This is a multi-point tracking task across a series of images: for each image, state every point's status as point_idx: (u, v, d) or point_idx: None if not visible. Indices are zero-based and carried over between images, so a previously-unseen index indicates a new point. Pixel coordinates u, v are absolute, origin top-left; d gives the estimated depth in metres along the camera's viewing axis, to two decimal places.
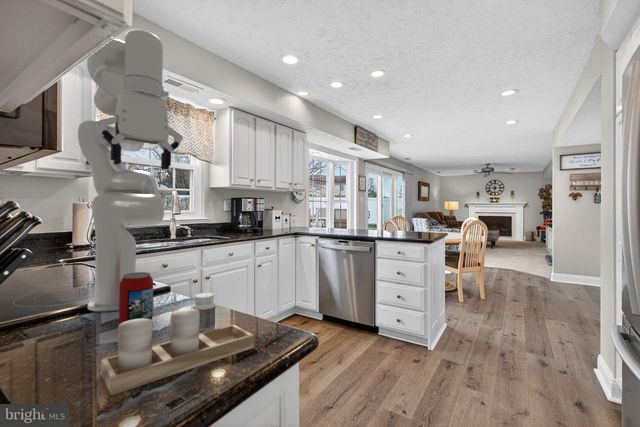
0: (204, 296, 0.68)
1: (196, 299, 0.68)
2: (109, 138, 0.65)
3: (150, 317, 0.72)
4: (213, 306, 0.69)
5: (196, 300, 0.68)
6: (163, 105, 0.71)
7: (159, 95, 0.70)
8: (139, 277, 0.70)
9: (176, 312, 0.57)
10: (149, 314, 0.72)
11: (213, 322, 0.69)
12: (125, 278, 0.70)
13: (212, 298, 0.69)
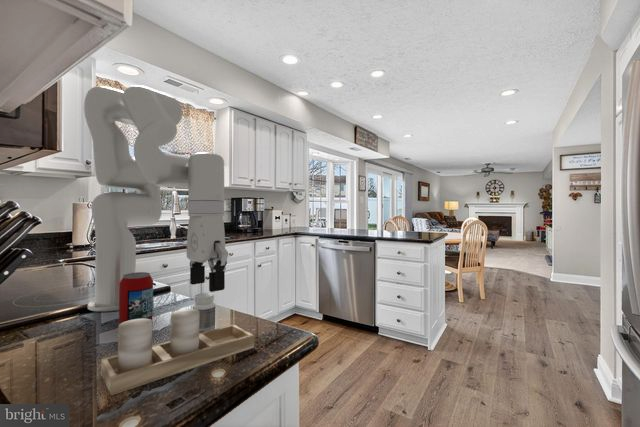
0: (204, 296, 0.68)
1: (196, 299, 0.68)
2: None
3: (150, 317, 0.72)
4: (213, 306, 0.69)
5: (196, 300, 0.68)
6: None
7: None
8: (139, 277, 0.70)
9: (176, 312, 0.57)
10: (149, 314, 0.72)
11: (213, 322, 0.69)
12: (125, 278, 0.70)
13: (212, 298, 0.69)
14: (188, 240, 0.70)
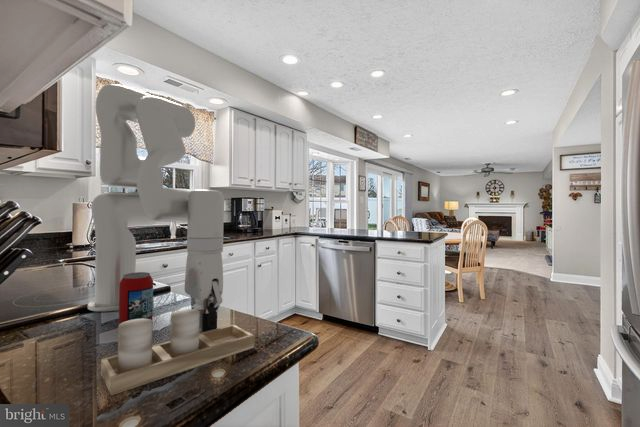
0: None
1: (196, 299, 0.68)
2: None
3: (150, 317, 0.72)
4: None
5: (196, 300, 0.68)
6: None
7: None
8: (139, 277, 0.70)
9: (176, 312, 0.57)
10: (149, 314, 0.72)
11: None
12: (125, 278, 0.70)
13: None
14: (186, 274, 0.70)
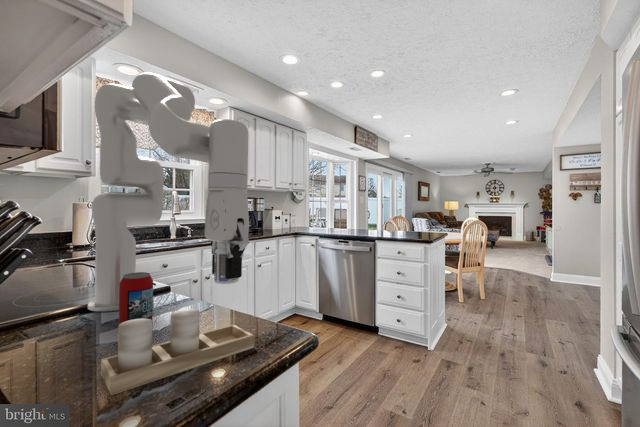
0: None
1: (218, 243, 0.61)
2: None
3: (150, 317, 0.72)
4: None
5: (218, 244, 0.61)
6: None
7: None
8: (139, 277, 0.70)
9: (176, 312, 0.57)
10: (149, 314, 0.72)
11: None
12: (125, 278, 0.70)
13: None
14: (207, 218, 0.63)
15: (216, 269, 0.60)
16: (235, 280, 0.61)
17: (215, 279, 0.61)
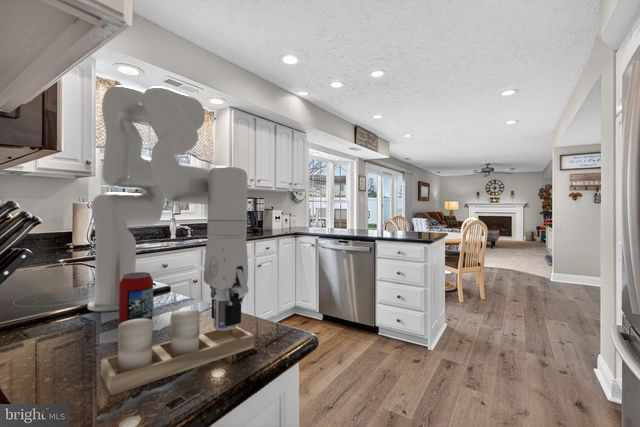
0: None
1: (218, 289, 0.61)
2: None
3: (150, 317, 0.72)
4: None
5: (217, 290, 0.61)
6: None
7: None
8: (139, 277, 0.70)
9: (176, 312, 0.57)
10: (149, 314, 0.72)
11: None
12: (125, 278, 0.70)
13: None
14: (206, 262, 0.63)
15: (215, 315, 0.60)
16: (234, 326, 0.61)
17: (214, 325, 0.61)
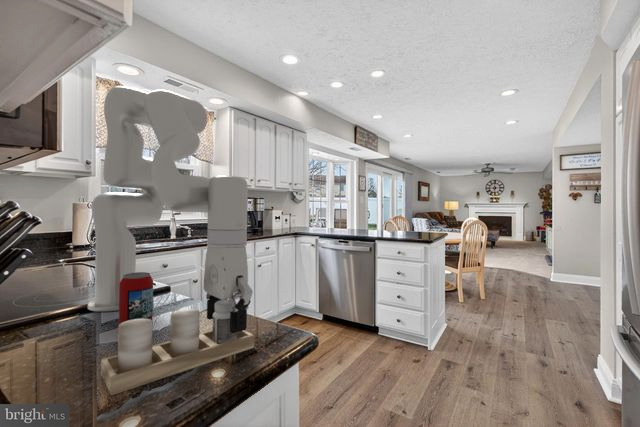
0: (225, 304, 0.61)
1: (216, 307, 0.61)
2: None
3: (150, 317, 0.72)
4: None
5: (216, 308, 0.61)
6: None
7: None
8: (139, 277, 0.70)
9: (176, 312, 0.57)
10: (149, 314, 0.72)
11: None
12: (125, 278, 0.70)
13: None
14: (206, 271, 0.63)
15: (214, 333, 0.61)
16: None
17: None
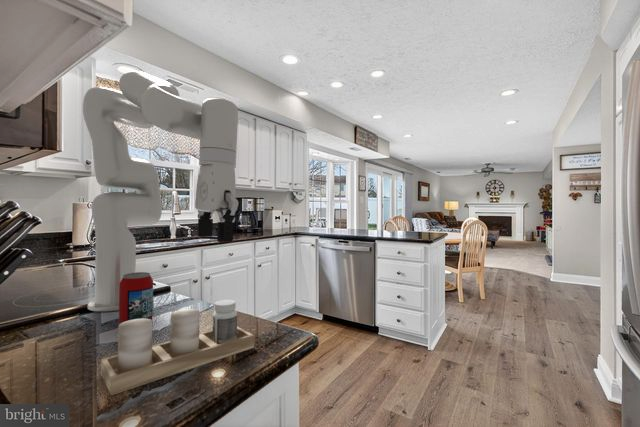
0: (225, 304, 0.61)
1: (217, 307, 0.61)
2: None
3: (150, 317, 0.72)
4: (235, 315, 0.62)
5: (216, 308, 0.61)
6: None
7: None
8: (139, 277, 0.70)
9: (176, 312, 0.57)
10: (149, 314, 0.72)
11: (235, 332, 0.62)
12: (125, 278, 0.70)
13: (234, 306, 0.62)
14: (197, 190, 0.68)
15: (214, 333, 0.61)
16: None
17: None
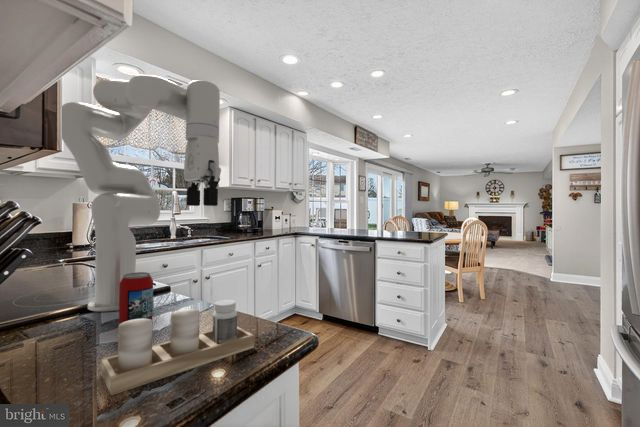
0: (225, 304, 0.61)
1: (217, 307, 0.61)
2: None
3: (150, 317, 0.72)
4: (235, 315, 0.62)
5: (216, 308, 0.61)
6: None
7: None
8: (139, 277, 0.70)
9: (176, 312, 0.57)
10: (149, 314, 0.72)
11: (235, 332, 0.62)
12: (125, 278, 0.70)
13: (234, 306, 0.62)
14: (185, 163, 0.76)
15: (214, 333, 0.61)
16: None
17: None
